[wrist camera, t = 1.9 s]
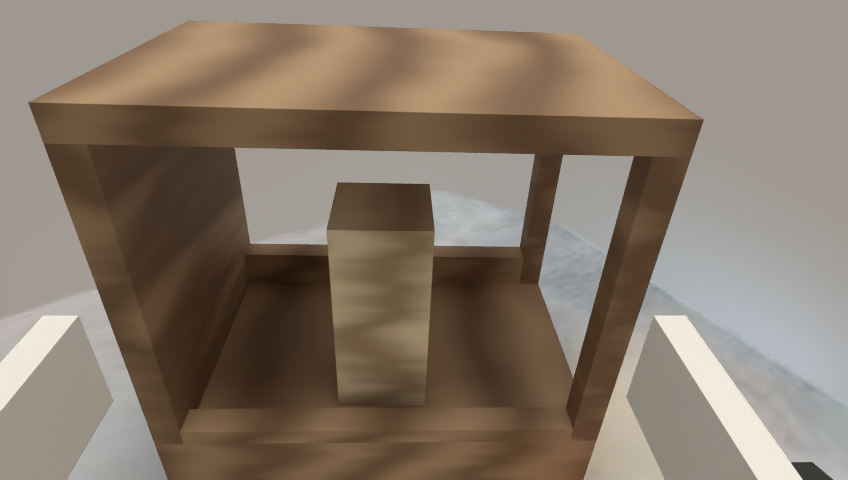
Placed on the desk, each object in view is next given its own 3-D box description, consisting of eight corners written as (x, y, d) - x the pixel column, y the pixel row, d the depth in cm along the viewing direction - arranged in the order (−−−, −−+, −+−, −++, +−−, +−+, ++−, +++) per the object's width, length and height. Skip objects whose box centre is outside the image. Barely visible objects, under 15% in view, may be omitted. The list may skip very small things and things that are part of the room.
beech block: (339, 406, 30) (326, 230, 24) (346, 345, 35) (337, 182, 28) (424, 405, 31) (434, 231, 24) (421, 345, 35) (429, 184, 28)
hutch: (182, 518, 31) (28, 102, 18) (247, 336, 45) (188, 20, 31) (572, 511, 33) (703, 119, 19) (521, 336, 46) (578, 33, 33)
